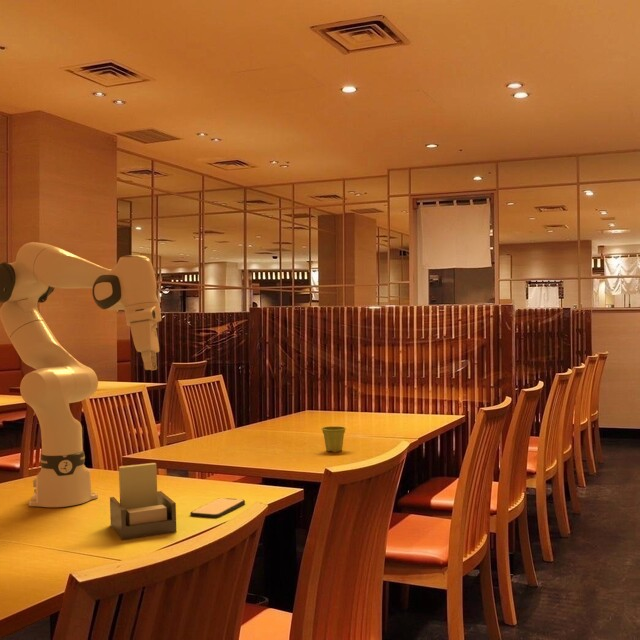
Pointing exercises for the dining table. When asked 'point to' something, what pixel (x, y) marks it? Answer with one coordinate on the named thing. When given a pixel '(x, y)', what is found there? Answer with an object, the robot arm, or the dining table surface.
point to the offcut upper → (146, 514)
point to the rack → (144, 528)
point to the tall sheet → (138, 486)
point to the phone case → (218, 508)
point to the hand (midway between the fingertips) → (151, 369)
